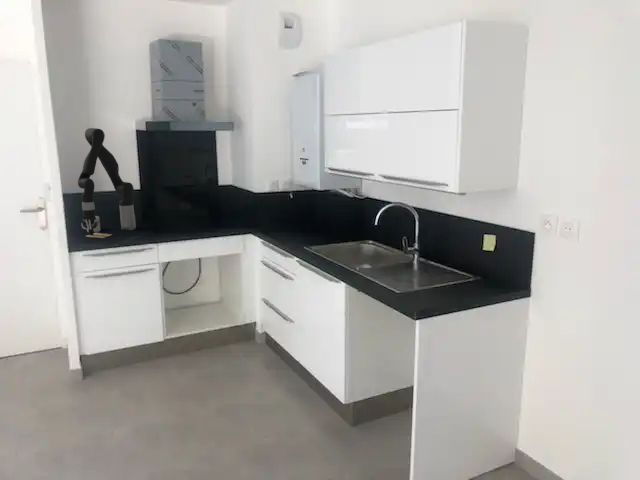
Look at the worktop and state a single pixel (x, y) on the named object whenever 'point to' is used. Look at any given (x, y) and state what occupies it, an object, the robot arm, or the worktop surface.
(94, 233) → the plank
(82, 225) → the mug
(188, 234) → the worktop surface
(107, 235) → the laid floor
